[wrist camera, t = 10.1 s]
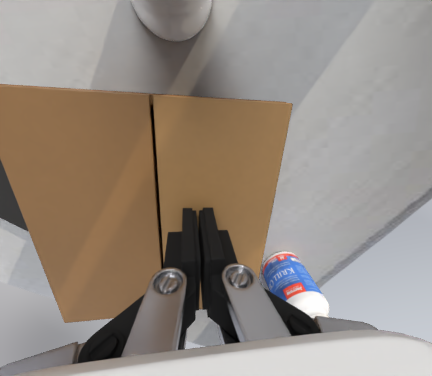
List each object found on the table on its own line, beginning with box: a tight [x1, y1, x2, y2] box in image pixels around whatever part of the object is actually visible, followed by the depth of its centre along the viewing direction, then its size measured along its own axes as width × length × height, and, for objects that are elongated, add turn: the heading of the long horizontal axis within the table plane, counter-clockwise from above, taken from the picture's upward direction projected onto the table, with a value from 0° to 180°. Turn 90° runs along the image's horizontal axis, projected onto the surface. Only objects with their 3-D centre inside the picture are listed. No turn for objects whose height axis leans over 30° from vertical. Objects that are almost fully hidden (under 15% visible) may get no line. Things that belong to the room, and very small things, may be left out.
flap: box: [153, 95, 292, 309], centre depth 12 cm, size 6×14×1 cm, turn 177°
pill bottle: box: [262, 252, 330, 318], centre depth 24 cm, size 6×5×10 cm
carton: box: [0, 84, 286, 323], centre depth 16 cm, size 13×14×10 cm
